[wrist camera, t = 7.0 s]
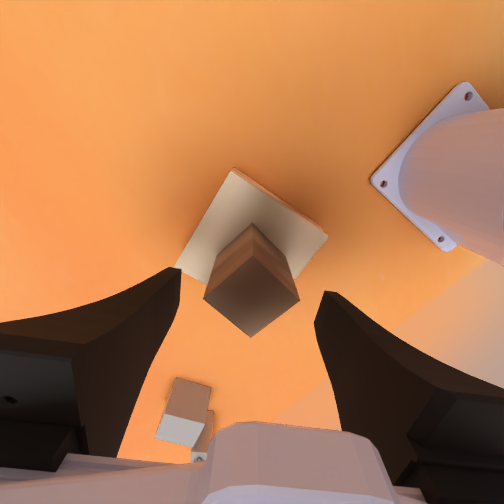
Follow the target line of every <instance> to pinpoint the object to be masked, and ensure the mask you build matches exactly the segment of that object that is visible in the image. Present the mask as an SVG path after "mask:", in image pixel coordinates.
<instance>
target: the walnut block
mask: <svg viewBox="0 0 504 504" xmlns="http://www.w3.org/2000/svg"><path fill="white" fill-rule="evenodd" d="M203 299H204V300H205V301H206V302H207V303H209V304H210V305H211V306H212V307H214V308H215V309H216V310H217V311H218V312H220V313H221V314H222V315H223V316H225V317H226V318H227V319H228V320H229V321H231V322H232V323H233V324H234V325H236V326H237V327H238V328H239V329H240V330H242V331H243V332H244V333H245V334H247V335H248V336H249V337H250V338H251V337H252V336H254V335H255V334H256V333H258V332H259V331H260V330H262V329H263V328H264V327H266V326H267V325H268V324H270V323H271V322H272V321H274V320H275V319H276V318H278V317H279V316H280V315H282V314H283V313H284V312H286V311H287V310H288V309H290V308H291V307H292V306H293V305H295V304H296V303H297V302H299V301H300V299H299V295H298V292H297V289H296V286H295V283H294V280H293V277H292V274H291V271H290V268H289V265H288V262H287V259H286V256H285V255H284V254H283V253H282V252H281V251H280V250H279V249H278V248H277V247H276V246H275V245H274V244H273V243H272V242H271V241H270V240H269V239H268V238H267V237H266V236H265V235H264V234H263V233H262V232H261V231H260V230H259V229H258V228H257V227H256V226H255V225H254V224H253V223H251V224H250V225H249V226H248V227H247V228H246V229H245V230H244V231H242V232H241V233H240V234H239V235H238V236H237V237H236V238H235V239H234V240H233V241H232V242H231V243H229V244H228V245H227V246H226V247H225V248H224V249H223V250H222V251H221V252H220V253H219V254H218V255H217V256H216V259H215V262H214V265H213V269H212V272H211V275H210V278H209V281H208V285H207V288H206V291H205V294H204V297H203Z"/></svg>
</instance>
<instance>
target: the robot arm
mask: <svg viewBox="0 0 504 504" xmlns="http://www.w3.org/2000/svg"><path fill="white" fill-rule="evenodd" d="M466 93H467V94H468V98H467V100H466V101H465V99H464V96H465V94H466ZM382 181H384V182H385V184H384V186H382V187H381V186H380V183H381V182H382ZM370 183H371V184H372V185H373V186H374V187H375V188H376V189H377V190H378V191H379V192H380V193H381V194H382V195H383V196H384V197H385V198H386V199H387V200H389V201H390V202H391V203H392V204H393V205H394V206H395V207H396V208H397V209H398V210H399V211H400V212H401V213H402V214H403V215H404V216H405V217H406V218H408V219H409V220H410V221H411V222H412V223H413V224H414V225H415V226H416V227H417V228H418V229H419V230H420V231H421V232H422V233H423V234H424V235H426V236H427V237H428V238H429V239H430V240H431V241H432V242H433V243H434V244H435V245H436V246H437V247H438V248H439V249H440V250H442V251H444V252H449V251H451V250H452V249H453V248H454V247H456V246H457V245H460V246H462V247H464V248H466V249H468V250H470V251H473V252H475V253H477V254H479V255H481V256H483V257H485V258H487V259H490V260H492V261H494V262H496V263H498V264H500V265H502V266H504V108H499V109H492V110H491V109H490V108H489V107H488V106H487V104H486V103H485V102H484V100H483V99H482V98H481V97H480V95H479V94H478V93H477V91H476V90H475V89H474V88H473V86H472V85H471V84H470V83H469V82H462V83H459V84H458V85H456V86H455V87H454V88H453V89H452V90H451V91H450V93H449V94H448V95H447V96H446V97H445V98H444V99H443V100H442V101H441V102H440V103H439V104H438V105H437V106H436V108H435V109H434V110H433V111H432V112H431V113H430V114H429V115H428V116H427V117H426V118H425V119H424V120H423V121H422V122H421V124H420V125H419V126H418V127H417V128H416V129H415V130H414V131H413V132H412V133H411V134H410V135H409V136H408V137H407V139H406V140H405V141H404V142H403V143H402V144H401V145H400V146H399V147H398V148H397V149H396V150H395V151H394V152H393V154H392V155H391V156H390V157H389V158H388V159H387V160H386V161H385V162H384V163H383V164H382V165H381V166H380V167H379V169H378V170H377V171H376V172H375V173H374V174H373V175H372V176H371V179H370ZM439 237H441V239H440V240H438V238H439ZM181 271H182V269H179V268H172V267H168V268H166V269H164V270H162V271H161V272H159V273H157V274H155V275H154V276H152V277H150V278H148V279H146V280H145V281H143V282H141V283H139V284H137V285H135V286H133V287H131V288H129V289H127V290H125V291H122V292H120V293H118V294H115V295H113V296H110V297H108V298H105V299H103V300H100V301H97V302H94V303H90V304H87V305H84V306H80V307H77V308H74V309H70V310H66V311H62V312H58V313H53V314H48V315H44V316H39V317H33V318H27V319H21V320H15V321H9V322H2V323H0V504H504V389H503V388H500V387H498V386H496V385H493V384H490V383H488V382H486V381H483V380H481V379H478V378H476V377H473V376H470V375H468V374H466V373H464V372H462V371H460V370H457V369H455V368H453V367H451V366H449V365H447V364H444V363H442V362H440V361H438V360H436V359H434V358H433V357H431V356H429V355H427V354H425V353H423V352H421V351H419V350H418V349H416V348H414V347H412V346H411V345H409V344H407V343H406V342H404V341H402V340H401V339H399V338H398V337H396V336H395V335H393V334H392V333H390V332H389V331H387V330H386V329H384V328H383V327H382V326H380V325H379V324H377V323H376V322H375V321H373V320H372V319H371V318H369V317H368V316H367V315H366V314H364V313H363V312H362V311H360V310H359V309H358V308H357V307H355V306H354V305H353V304H352V303H350V302H349V301H348V300H347V299H345V298H344V297H343V296H341V295H340V294H338V293H337V292H331V291H324V294H323V297H322V300H321V303H320V306H319V309H318V312H317V315H316V318H315V321H314V327H315V333H316V338H317V342H318V345H319V348H320V351H321V354H322V357H323V360H324V363H325V366H326V369H327V372H328V375H329V378H330V381H331V384H332V388H333V391H334V395H335V400H336V404H337V409H338V413H339V418H340V423H341V428H342V431H337V430H328V429H320V428H310V427H302V426H293V425H284V424H275V423H267V422H258V421H253V422H236V423H234V424H232V425H230V426H228V427H225V428H223V429H221V430H219V431H218V432H217V433H216V434H215V436H214V437H213V439H212V440H211V442H210V444H209V445H208V451H207V458H206V461H205V462H197V463H187V464H171V463H161V462H151V461H141V460H131V459H121V458H116V457H117V454H118V451H119V448H120V445H121V442H122V439H123V437H124V434H125V431H126V428H127V425H128V423H129V420H130V417H131V414H132V412H133V409H134V406H135V404H136V401H137V398H138V396H139V393H140V390H141V388H142V385H143V383H144V380H145V378H146V375H147V373H148V370H149V368H150V366H151V364H152V361H153V359H154V357H155V355H156V354H157V352H158V350H159V348H160V346H161V344H162V342H163V340H164V338H165V336H166V334H167V332H168V330H169V328H170V327H171V325H172V323H173V320H174V318H175V315H176V312H177V309H178V306H179V302H180V287H181Z"/></svg>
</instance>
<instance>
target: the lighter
mask: <svg viewBox="0 0 504 504" xmlns="http://www.w3.org/2000/svg"><path fill="white" fill-rule="evenodd" d="M213 421H214V411H208V410H207V416H206V422H205V425H204V427H203V429H202V431H201V433H200V435H199V437H198V439H197V441H196V443H195V444H194V446H193V448H192V450H191V463H197V462H205V461H206V458H207V451H208V445H209V444H210V442H211V440H212V434H213Z"/></svg>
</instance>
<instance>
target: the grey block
mask: <svg viewBox="0 0 504 504" xmlns="http://www.w3.org/2000/svg"><path fill="white" fill-rule="evenodd" d="M210 392H211V387H208V386H204V385H201V384H197V383H194V382H190V381H186V380H183V379H179V378H176V379H175V382H174V384H173V387H172V389H171V391H170V394H169V396H168V399H167V401H166V404H165V407H164V410H163V413H162V416H161V419H160V422H159V425H158V428H157V431H156V434H155V437H154V438H155V439H159V440H163V441H167V442H171V443H176V444H180V445H184V446H188V447H192V448H193V446H194V444H195V443H196V441H197V439H198V437H199V435H200V433H201V431H202V429H203V427H204V425H205V422H206V416H207V410H208V404H209V398H210Z"/></svg>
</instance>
